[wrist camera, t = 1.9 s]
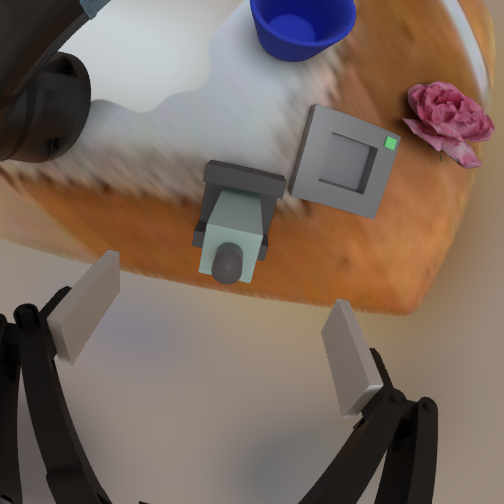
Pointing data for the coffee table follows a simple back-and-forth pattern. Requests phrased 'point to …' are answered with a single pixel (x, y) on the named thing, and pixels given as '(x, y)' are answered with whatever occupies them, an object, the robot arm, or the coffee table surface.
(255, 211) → the plug
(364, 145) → the port
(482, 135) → the flower
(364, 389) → the robot arm
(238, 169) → the holster
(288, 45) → the mug
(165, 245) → the coffee table surface
